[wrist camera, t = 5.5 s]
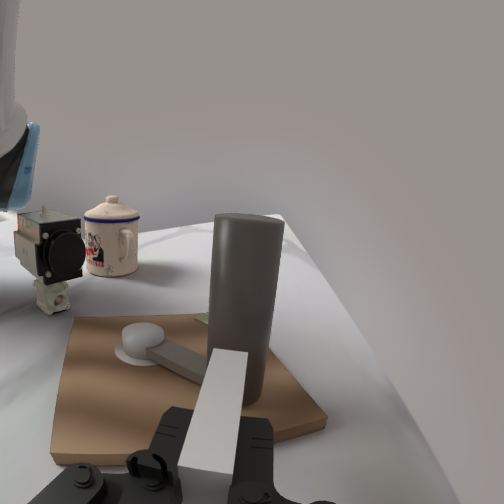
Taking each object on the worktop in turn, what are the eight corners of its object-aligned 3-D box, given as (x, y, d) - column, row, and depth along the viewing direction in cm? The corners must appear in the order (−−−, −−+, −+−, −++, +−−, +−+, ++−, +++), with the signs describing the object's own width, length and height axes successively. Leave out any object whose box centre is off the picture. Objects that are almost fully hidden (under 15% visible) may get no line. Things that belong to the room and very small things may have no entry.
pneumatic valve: (50, 289, 36) (46, 200, 33) (92, 320, 30) (87, 209, 27) (16, 298, 31) (8, 204, 28) (50, 335, 26) (37, 214, 23)
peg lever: (113, 348, 24) (106, 201, 21) (145, 333, 27) (145, 198, 24) (244, 417, 18) (266, 227, 15) (270, 387, 22) (294, 221, 19)
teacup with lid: (77, 265, 47) (76, 195, 44) (123, 258, 53) (124, 193, 51) (105, 288, 39) (104, 202, 36) (159, 277, 46) (161, 199, 43)
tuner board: (76, 325, 29) (75, 314, 28) (236, 319, 35) (237, 308, 35) (55, 464, 12) (49, 450, 12) (324, 428, 19) (328, 415, 19)
